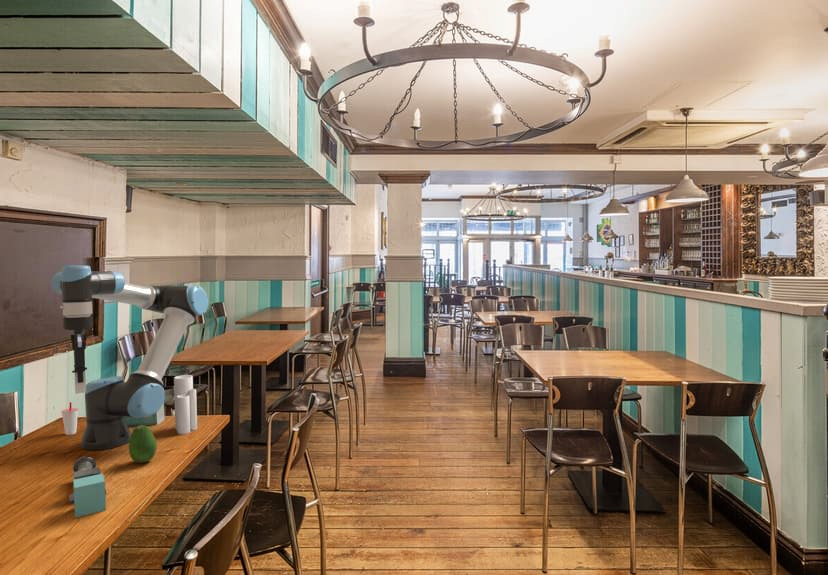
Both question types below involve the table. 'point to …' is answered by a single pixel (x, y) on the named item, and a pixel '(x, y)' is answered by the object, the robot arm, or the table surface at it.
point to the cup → (70, 420)
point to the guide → (84, 474)
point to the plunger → (84, 464)
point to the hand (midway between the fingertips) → (80, 392)
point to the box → (147, 419)
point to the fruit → (142, 444)
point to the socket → (89, 495)
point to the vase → (185, 404)
